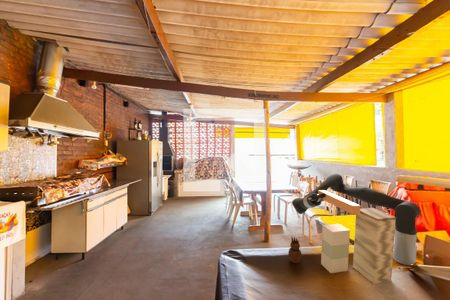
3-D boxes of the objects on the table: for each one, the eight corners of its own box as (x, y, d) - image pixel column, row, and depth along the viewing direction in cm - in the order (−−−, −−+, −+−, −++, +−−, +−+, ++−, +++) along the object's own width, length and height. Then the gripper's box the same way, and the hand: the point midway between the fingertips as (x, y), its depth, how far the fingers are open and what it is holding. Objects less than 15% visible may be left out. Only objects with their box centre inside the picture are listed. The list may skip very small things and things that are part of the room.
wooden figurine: (287, 262, 123) (288, 236, 121) (289, 257, 128) (290, 232, 126) (300, 266, 119) (300, 239, 118) (301, 260, 124) (302, 235, 123)
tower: (336, 261, 123) (338, 223, 121) (347, 270, 116) (349, 230, 113) (321, 263, 121) (322, 225, 119) (330, 273, 113) (332, 232, 111)
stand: (368, 264, 121) (372, 207, 118) (391, 280, 108) (395, 217, 105) (352, 267, 118) (356, 209, 115) (373, 283, 106) (378, 218, 103)
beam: (324, 196, 128) (324, 189, 128) (359, 213, 103) (360, 205, 103) (317, 197, 127) (318, 190, 127) (352, 214, 102) (353, 206, 102)
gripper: (324, 206, 137) (342, 200, 121) (303, 207, 134) (319, 202, 118) (320, 194, 140) (337, 187, 124) (300, 195, 137) (315, 188, 121)
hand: (328, 194), depth 121 cm, fingers closed on beam, 4 cm apart
